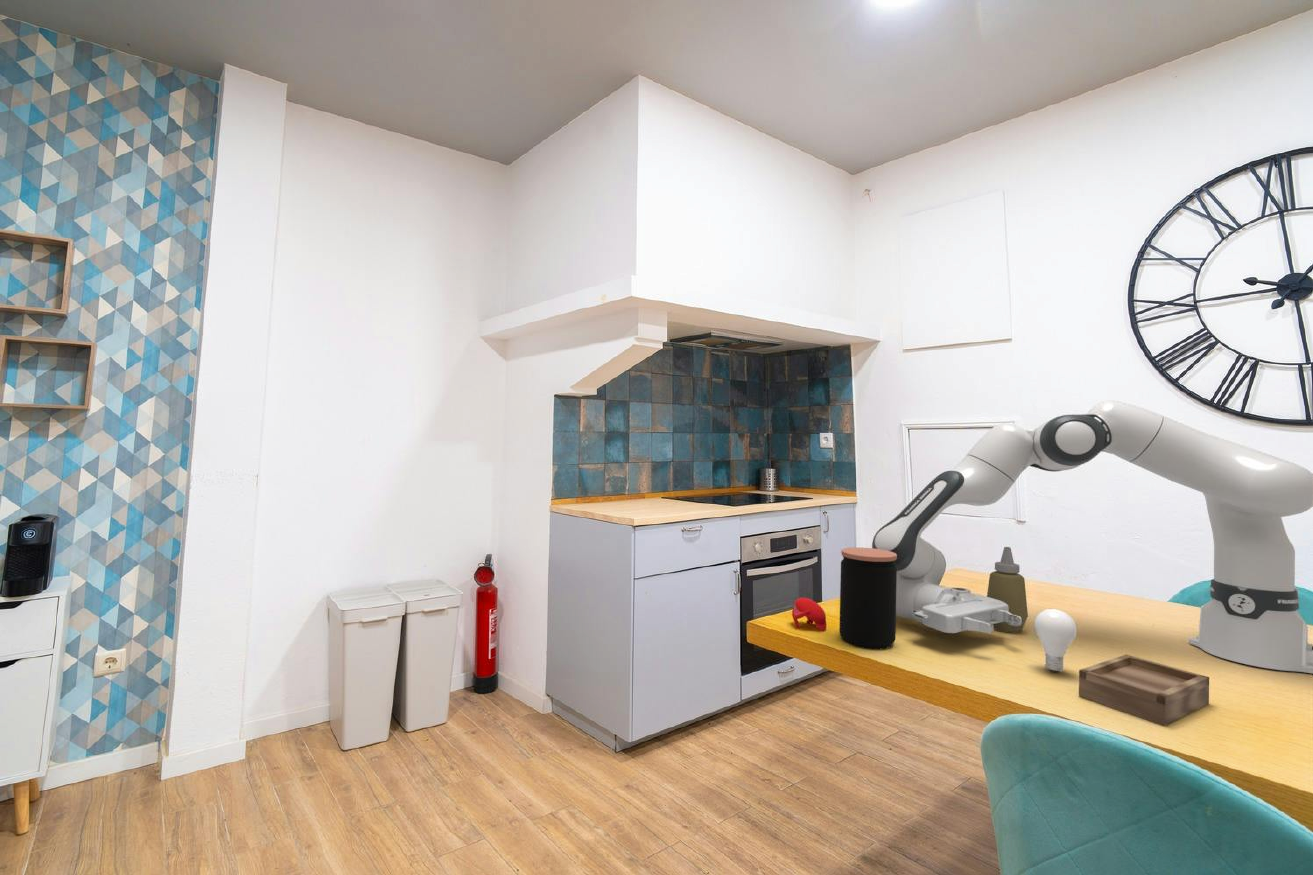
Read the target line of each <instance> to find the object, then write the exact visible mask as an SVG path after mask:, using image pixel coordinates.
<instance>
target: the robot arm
mask: <svg viewBox="0 0 1313 875" xmlns="http://www.w3.org/2000/svg"><path fill="white" fill-rule="evenodd" d="M1101 452H1102V453H1107V454H1111V455H1114V456H1115V457H1117V458H1120V459H1122V460H1123V461H1127V462H1129V463H1130V464H1133V465H1134V466H1137V467H1139V468H1142V469H1143V470H1146V471H1149V472H1151V473H1152V474H1155V475H1156V476H1157V475H1158V477H1162V478H1164V479H1167V480H1168V481H1171V482H1173V483H1176V484H1179V485H1182V486H1184V487H1187V488H1189V489H1192V490H1195V491H1198V492H1200V493H1202V495H1203V496H1204V499H1205V503H1206V508H1207V509H1206V510H1207V513H1208V518H1209V522H1210V526H1211V531H1212V538H1213V578H1212V579H1210V585H1209V592H1210V593H1209V594H1210V595H1209V596H1210V598H1211V599H1210V600H1209V601H1208V602H1206V603H1204V604H1203V605H1201V607H1200V611H1199V621H1198V622H1199V625H1198V632H1197V633H1198V634H1197V635H1198V636H1195V637H1192V636H1191V637H1189V638H1188V644H1190V645H1193V646H1195V647H1197V648H1200V649H1201V650H1203V651H1205V652H1206V653H1208V654H1210V655H1213V656H1216V657H1218V658H1220V659H1224V660H1228V661H1232V662H1235V663H1239V664H1244V665H1247V666H1254V667H1258V668H1262V669H1270V670H1277V671H1287V672H1300V673H1305V674H1306V673H1308V674H1313V644H1312V643H1309V628H1308V626H1307V623H1306V621H1305V620H1304V619H1303V617H1302V616H1301V614H1300V613H1299V611H1298V610H1299V609H1300V597H1299V591H1298V588H1295V586H1296V585H1295V577H1296V575H1295V574H1296V551H1295V550H1296V549H1295V547H1294V544H1293V543H1292V542H1291V541H1290V539H1289V537H1288V534H1287V531H1286V528H1285V525H1284V523H1283V522H1284V521H1283V517H1290V516H1295V515H1299V514H1302V513H1304V512H1305V513H1306V512H1307V511H1309V510H1310V509H1312V508H1313V472H1312V471H1310V470H1308V469H1307V468H1305V467H1303V466H1301V465H1299V464H1297V463H1294V462H1291V461H1288V460H1285V459H1282V458H1280V457H1277V456H1275V455H1274V456H1273V455H1271V454H1268V453H1266V452H1263V451H1260V450H1258V449H1254V448H1252V447H1248V446H1247V445H1246V446H1245V445H1242V444H1240V443H1235V442H1233V441H1230V440H1227V439H1224V438H1220V437H1217V436H1215V435H1211V434H1209V433H1206V432H1204V431H1200V430H1198V429H1196V428H1193V427H1192V426H1191V427H1190V426H1189V425H1186V424H1184V423H1181V422H1178V421H1176V420H1174V419H1172V418H1169V417H1167V416H1164V415H1162V414H1159V413H1156V412H1155V411H1153V410H1149V409H1146V408H1144V407H1143V408H1142V407H1141V406H1138V405H1137V406H1136V405H1133V404H1129V403H1126V402H1122V401H1118V400H1104V401H1100V402H1099V403H1097V404H1095V405H1094V406H1092V407H1091V408H1090V409H1089V410H1088V412H1087V413H1085V414H1082V413H1081V414H1064V415H1059V416H1056V417H1054V418H1052V419H1050V420H1047V421H1045V422H1043V423H1042V424H1040V425H1039V426H1038V427H1036V428H1034V429H1033V430H1028V429H1027V430H1026V429H1024V428H1023V427H1021V426H1018V425H1016V424H1013V423H1012V424H1011V423H1007V422H1006V423H999V424H996V425H994V426H993V427H992V428H991V429H990V430H988V431H987V432H986V433H985V434H984V435H983V436H982V437H981V438H980V439H979V440H978V441H977V442H976V443H975V444H974V445H973V446H972V447H971V449H970V450H968V452H967V454H966V455H965V456H964V458H962V459H961V461H960V462H959V463H958V464H957V465H955V466H954V467H953V468H952V469H950V470H947V471H943V472H941V473H940V474H938V475H937V476H936V477H934V478H933V479H932V480H931V481H930V482H929V483H927V485H926V486H925V487H924V488H923V489H922V490H921V491H920V492H919V493H918V494H917V495H916V496H915V497H914V498H913V499H912V500H911V501H910V502H909V503H908V504H907V505H906V506H905V507H904V509H902V510H901V512H900V513H898V514H897V516H895V517H894V518H893V519H891V520H890V521H888V522H887V523H885V524H884V525H883V526H881V527H880V528H879V529H878V530H877V531H876V533H875V534H874V536H873V539H872V542H871V548H874V549H881V550H887V551H891V552H893V553H896V554H897V559H896V560H895V562H894V564H895V565H896V567H897V586H896V617H900V618H903V619H907V620H910V619H911V620H915V621H916V622H918V623H919V624H922V625H924V626H927V627H929V628H931V629H934V630H937V631H940V632H942V633H947V634H957V633H961V632H964V631H973V632H981V633H983V634H984V633H985V634H991V633H994V630H995V629H994V628H993V627H994V625H993V624H996V623H1000V622H1007V623H1008V624H1009V625H1013V626H1019V625H1021V624H1022V619H1021V617H1020V616H1016V615H1013V614H1011V613H1010V612H1009V607H1008V605H1007V604H1006V603H1004V602H1002V601H1000V600H996V599H993V598H990V597H987V595H983V594H980V593H979V594H978V593H972V592H971V589H968V588H964V587H948V586H944V585H940V583H941V581H942V579H943V577H944V574H945V572H946V567H947V563H946V559H945V556H944V554H943V553H942V551H940V550H939V549H938V548H936V546H934V545H932V544H931V543H929V542H928V541H926V540H925V539H924V538H922V537H921V535H922V533H923V532H925V530H926V529H927V528H928V527H929V526H930V525H931V524H932V522H934V520H936V519H937V517H939V515H940V514H942V512H944V510H946V509H947V508H949V507H952V506H954V505H969V506H976V507H977V506H978V507H982V506H990V505H992V504H995V503H997V502H998V501H1000V499H1002V498H1003V497H1004V496H1005V495H1006V494H1007V493H1008V492H1009V490H1010V489H1011V488H1012V486H1013V485H1014V484H1015V483H1016V481H1017V480H1018V478H1019V477H1020V475H1021V474H1022V473H1023V472H1024V471H1025V470H1026V469H1027V468H1028V467H1032V468H1036V469H1040V470H1042V471H1046V472H1061V471H1067V470H1069V471H1070V470H1072V469H1076V468H1078V467H1080V466H1081V465H1085V464H1086V463H1088V462H1090V461H1092V460H1093V459H1094V458H1096V456H1098V455H1099V454H1101Z"/></svg>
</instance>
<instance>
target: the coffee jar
mask: <svg viewBox="0 0 1313 875" xmlns="http://www.w3.org/2000/svg"><path fill="white" fill-rule="evenodd" d="M840 550H841V553H840V554H841V556H842V560H841V562H840V584H839V588H840V589H839V628H838V629H839V632H838V633H839V635H840V637H841V638H842V641H844V643H846V644H848V645H850V646H854V647H857V648H860V649H861V648H862V649H868V650H885V649H889V648H891V647H892V646H893V644H894V643H895V641H896V634H897V633H896V632H897V631H896V628H897V627H896V626H897V625H896V624H897V616H896V586H897V567H896V565H895V564H894V562H895V560H896V559H897V554H896V553H893V552H891V551H887V550H881V549H874V548H872V547H856V546H855V547H845V548H842V549H840Z"/></svg>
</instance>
